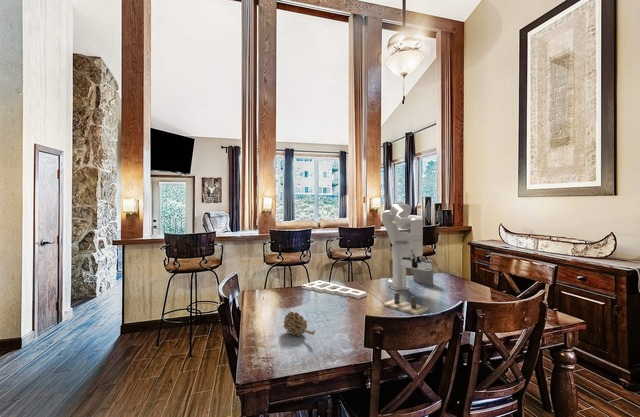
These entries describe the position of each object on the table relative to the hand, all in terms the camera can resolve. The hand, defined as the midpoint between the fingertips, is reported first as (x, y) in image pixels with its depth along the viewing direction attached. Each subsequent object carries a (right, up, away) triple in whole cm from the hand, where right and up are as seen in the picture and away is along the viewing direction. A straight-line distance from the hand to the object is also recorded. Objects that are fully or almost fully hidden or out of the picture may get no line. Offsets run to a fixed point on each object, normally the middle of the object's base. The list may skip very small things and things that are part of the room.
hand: (416, 267), depth 192 cm
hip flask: (+18, -20, +41) cm, 49 cm away
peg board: (-11, -22, -13) cm, 27 cm away
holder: (-52, -22, +21) cm, 60 cm away
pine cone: (-70, -23, -49) cm, 89 cm away
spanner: (0, -1, 0) cm, 1 cm away
